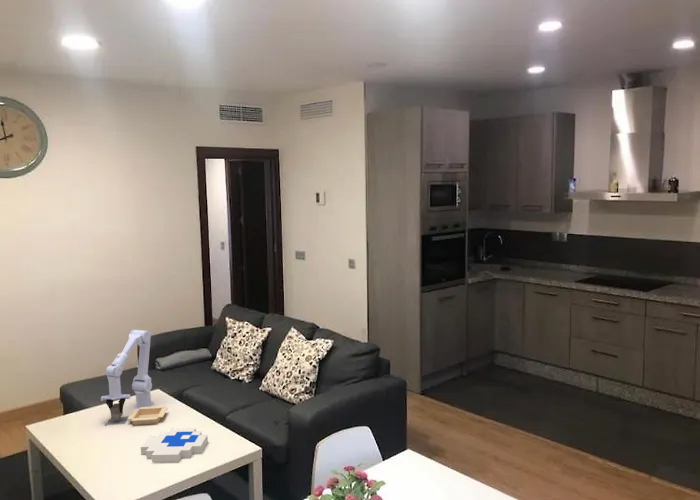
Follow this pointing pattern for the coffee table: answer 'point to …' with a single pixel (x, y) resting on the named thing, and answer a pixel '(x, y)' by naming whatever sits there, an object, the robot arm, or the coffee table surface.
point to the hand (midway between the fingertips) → (116, 412)
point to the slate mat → (117, 421)
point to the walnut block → (115, 411)
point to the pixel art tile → (174, 445)
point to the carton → (147, 414)
